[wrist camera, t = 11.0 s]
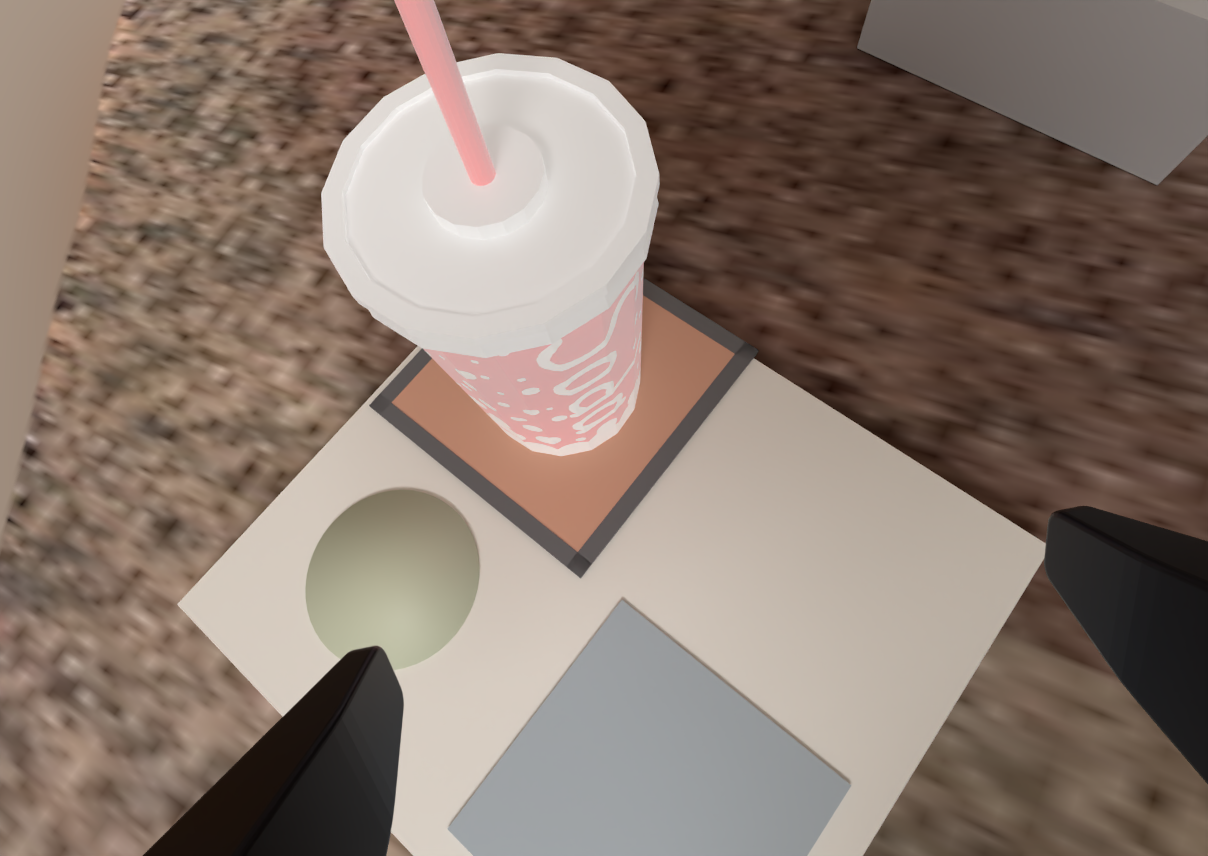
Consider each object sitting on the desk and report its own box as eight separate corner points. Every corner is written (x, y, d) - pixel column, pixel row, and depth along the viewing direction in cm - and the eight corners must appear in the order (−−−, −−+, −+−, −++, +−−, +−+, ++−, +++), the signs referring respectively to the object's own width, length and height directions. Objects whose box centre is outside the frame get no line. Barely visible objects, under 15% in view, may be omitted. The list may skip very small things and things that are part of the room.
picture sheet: (685, 1122, 15) (685, 1149, 14) (195, 606, 20) (174, 604, 19) (1039, 544, 18) (1058, 538, 17) (544, 229, 23) (539, 212, 22)
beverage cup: (502, 514, 19) (122, 181, 6) (441, 339, 21) (62, -192, 8) (699, 432, 19) (752, -62, 6) (619, 267, 21) (532, -362, 8)
